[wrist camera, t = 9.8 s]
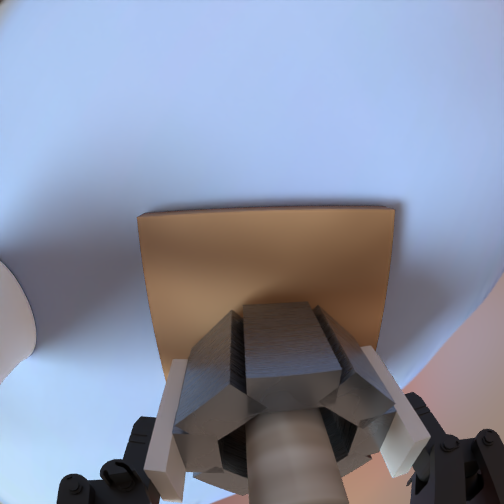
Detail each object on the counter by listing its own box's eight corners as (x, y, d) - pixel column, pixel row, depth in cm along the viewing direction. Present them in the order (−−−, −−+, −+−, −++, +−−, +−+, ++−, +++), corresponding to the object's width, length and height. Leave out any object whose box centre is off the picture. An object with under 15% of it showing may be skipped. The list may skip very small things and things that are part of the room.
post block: (144, 213, 14) (-2, 305, 4) (383, 206, 14) (548, 272, 4) (187, 435, 18) (173, 555, 8) (347, 423, 19) (389, 532, 9)
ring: (181, 306, 13) (154, 377, 8) (363, 296, 13) (416, 355, 8) (202, 428, 15) (196, 496, 10) (341, 417, 15) (364, 479, 10)
